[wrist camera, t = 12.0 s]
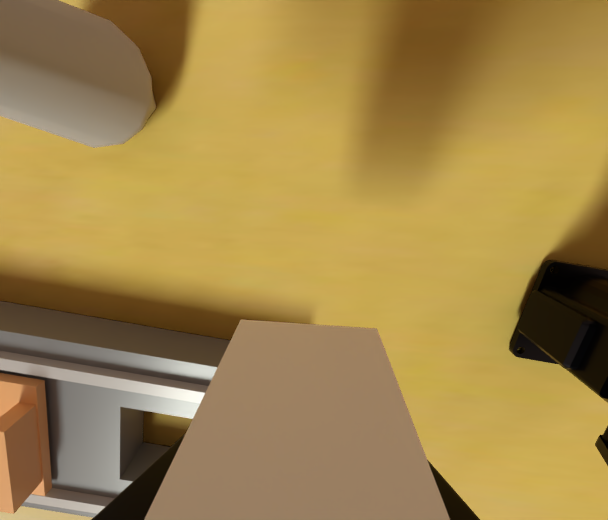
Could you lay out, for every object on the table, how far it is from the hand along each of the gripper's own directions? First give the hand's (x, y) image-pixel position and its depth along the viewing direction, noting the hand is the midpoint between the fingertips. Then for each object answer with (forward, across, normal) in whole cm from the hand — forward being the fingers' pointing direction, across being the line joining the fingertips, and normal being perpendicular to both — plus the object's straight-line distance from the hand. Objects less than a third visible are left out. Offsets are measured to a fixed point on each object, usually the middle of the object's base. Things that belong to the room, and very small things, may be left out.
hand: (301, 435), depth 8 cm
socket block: (+13, +12, +11) cm, 21 cm away
